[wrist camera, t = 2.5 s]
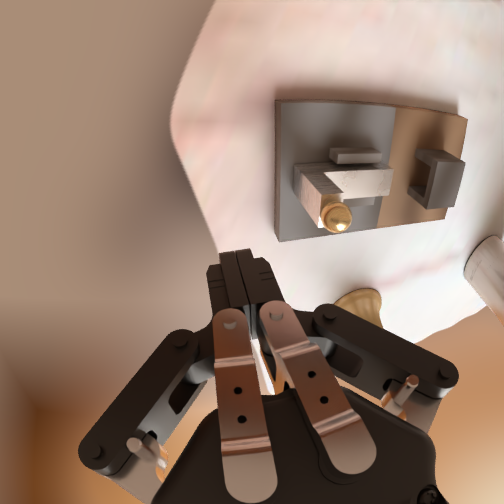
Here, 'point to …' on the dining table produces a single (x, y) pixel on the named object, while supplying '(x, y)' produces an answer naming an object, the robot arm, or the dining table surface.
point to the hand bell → (363, 304)
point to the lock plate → (368, 160)
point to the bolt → (338, 189)
